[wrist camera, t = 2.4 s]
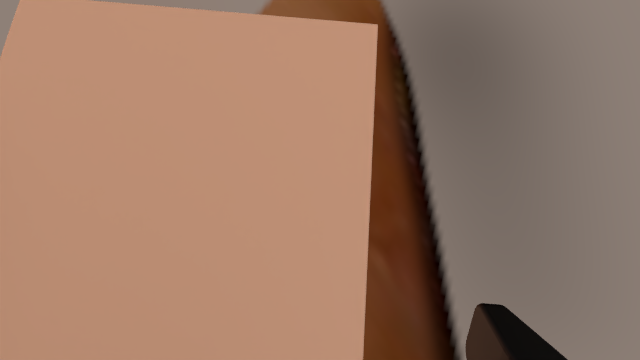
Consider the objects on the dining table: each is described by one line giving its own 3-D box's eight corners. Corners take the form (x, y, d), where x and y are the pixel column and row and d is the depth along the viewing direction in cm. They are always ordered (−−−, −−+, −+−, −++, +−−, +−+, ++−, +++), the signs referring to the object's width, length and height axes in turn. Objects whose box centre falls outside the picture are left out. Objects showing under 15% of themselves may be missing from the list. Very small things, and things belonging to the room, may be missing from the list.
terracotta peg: (320, 370, 16) (360, 417, 5) (182, 359, 16) (-111, 379, 5) (329, 236, 18) (377, 24, 6) (204, 225, 17) (22, -6, 6)
